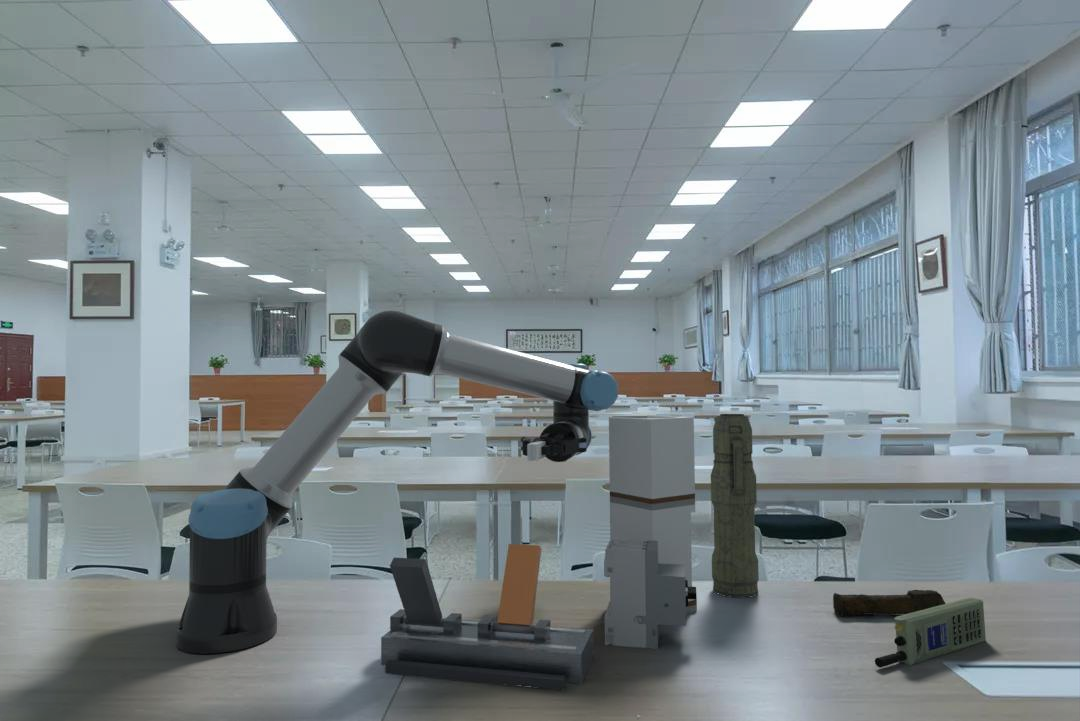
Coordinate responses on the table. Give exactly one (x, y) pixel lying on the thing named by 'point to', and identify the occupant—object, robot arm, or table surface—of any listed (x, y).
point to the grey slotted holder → (490, 646)
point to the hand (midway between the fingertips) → (532, 452)
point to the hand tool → (886, 603)
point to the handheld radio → (937, 631)
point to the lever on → (416, 592)
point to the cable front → (475, 674)
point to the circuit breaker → (642, 593)
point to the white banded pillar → (654, 485)
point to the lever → (519, 589)
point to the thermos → (734, 508)
